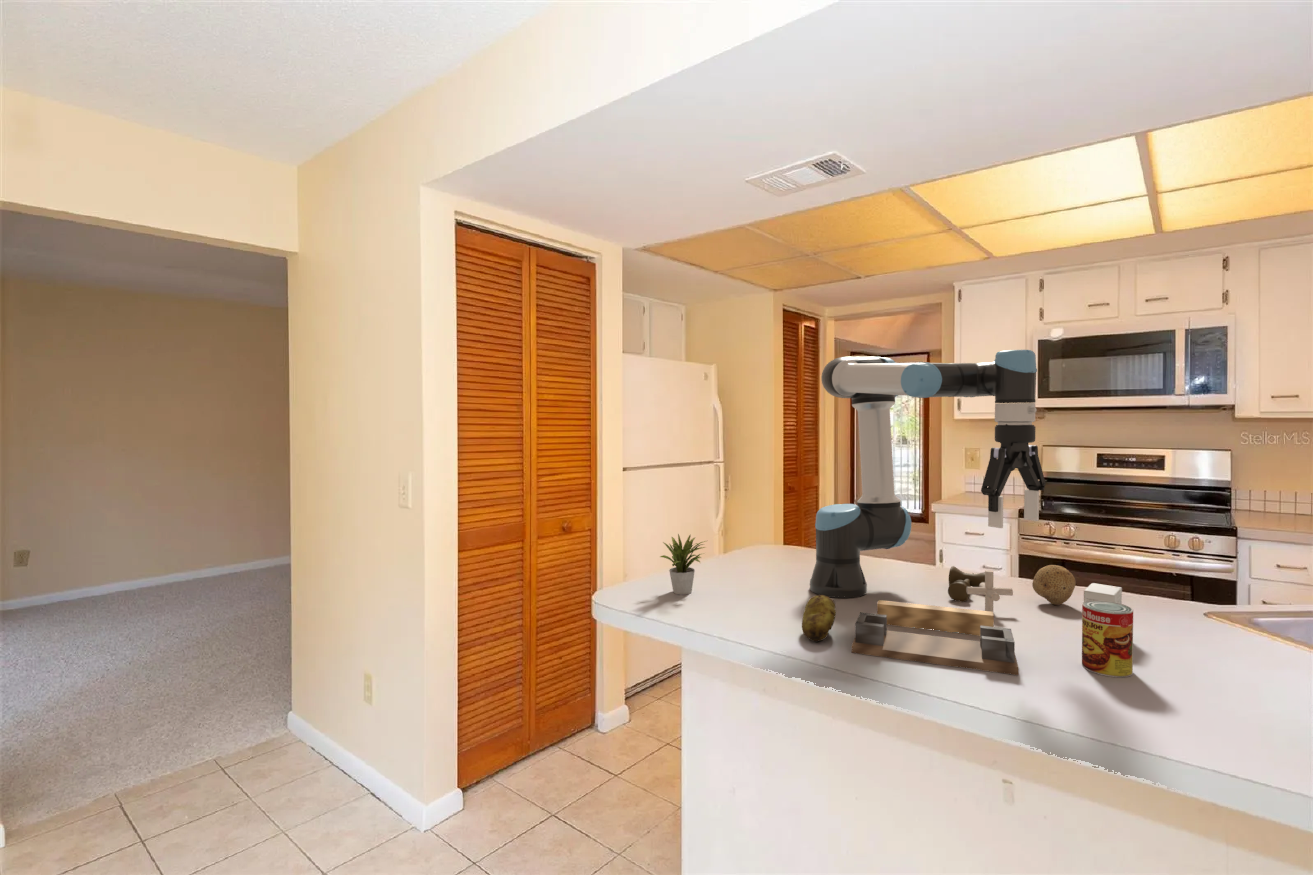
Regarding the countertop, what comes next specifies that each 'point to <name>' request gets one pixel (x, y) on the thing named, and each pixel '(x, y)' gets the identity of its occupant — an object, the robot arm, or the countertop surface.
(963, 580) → the kendama
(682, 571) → the house plant
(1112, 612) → the canned food
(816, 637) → the potato
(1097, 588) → the small box
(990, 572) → the pipe connector
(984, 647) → the end cap board
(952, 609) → the oak slat
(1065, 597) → the natural sponge
